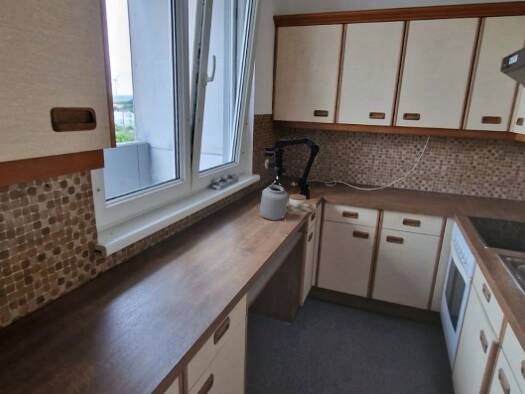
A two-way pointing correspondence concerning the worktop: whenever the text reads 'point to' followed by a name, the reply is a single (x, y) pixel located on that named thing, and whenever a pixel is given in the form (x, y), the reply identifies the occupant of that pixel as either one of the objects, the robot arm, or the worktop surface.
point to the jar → (273, 202)
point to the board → (300, 208)
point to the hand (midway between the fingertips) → (278, 179)
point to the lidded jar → (297, 199)
